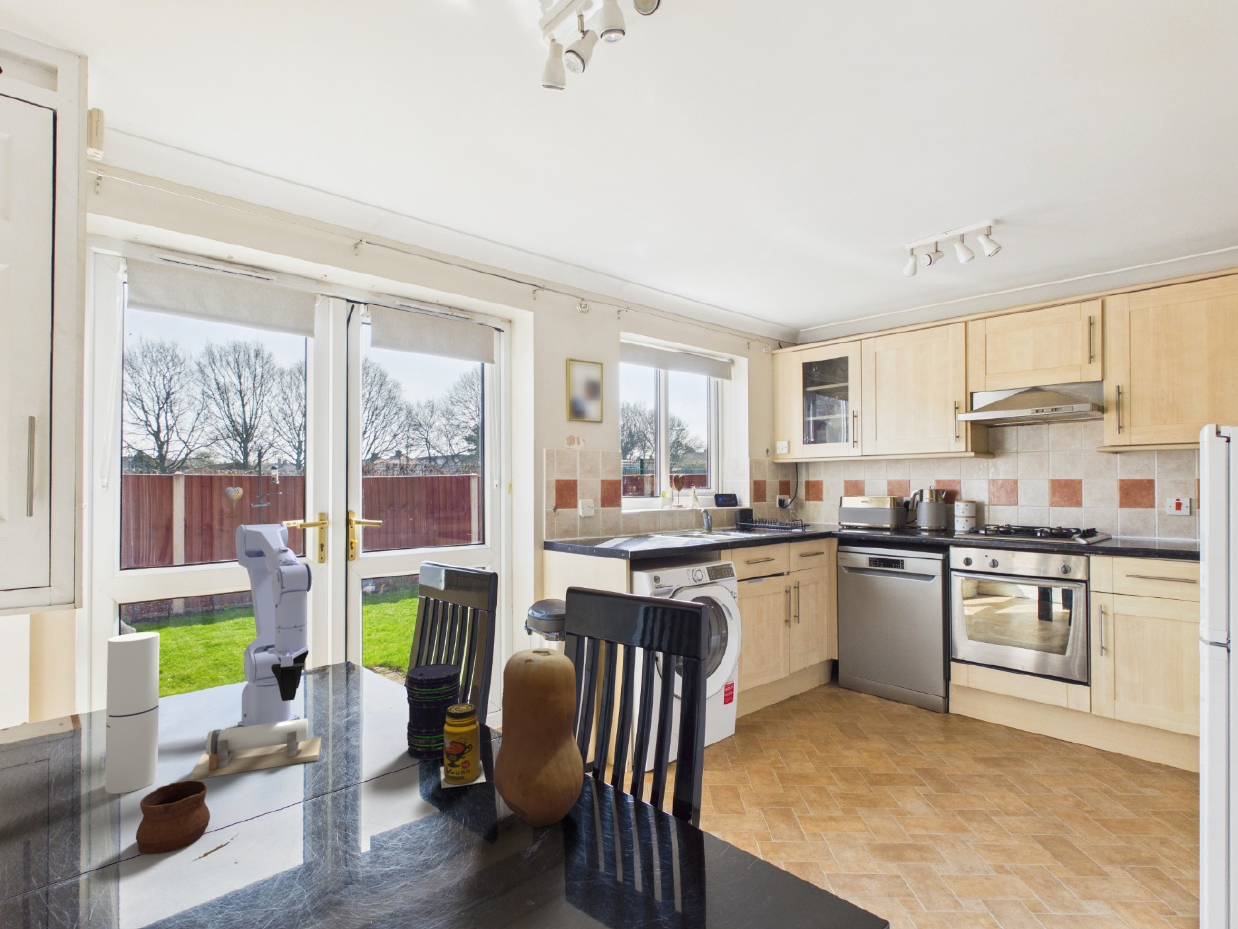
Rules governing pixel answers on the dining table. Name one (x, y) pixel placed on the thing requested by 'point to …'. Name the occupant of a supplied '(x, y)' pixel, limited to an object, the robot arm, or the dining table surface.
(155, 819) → the ceramic pot
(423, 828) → the dining table surface
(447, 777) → the condiment
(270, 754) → the tube stand
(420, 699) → the storage jar
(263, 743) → the tube
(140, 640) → the cylindrical container
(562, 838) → the dining table surface
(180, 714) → the dining table surface
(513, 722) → the butternut squash
